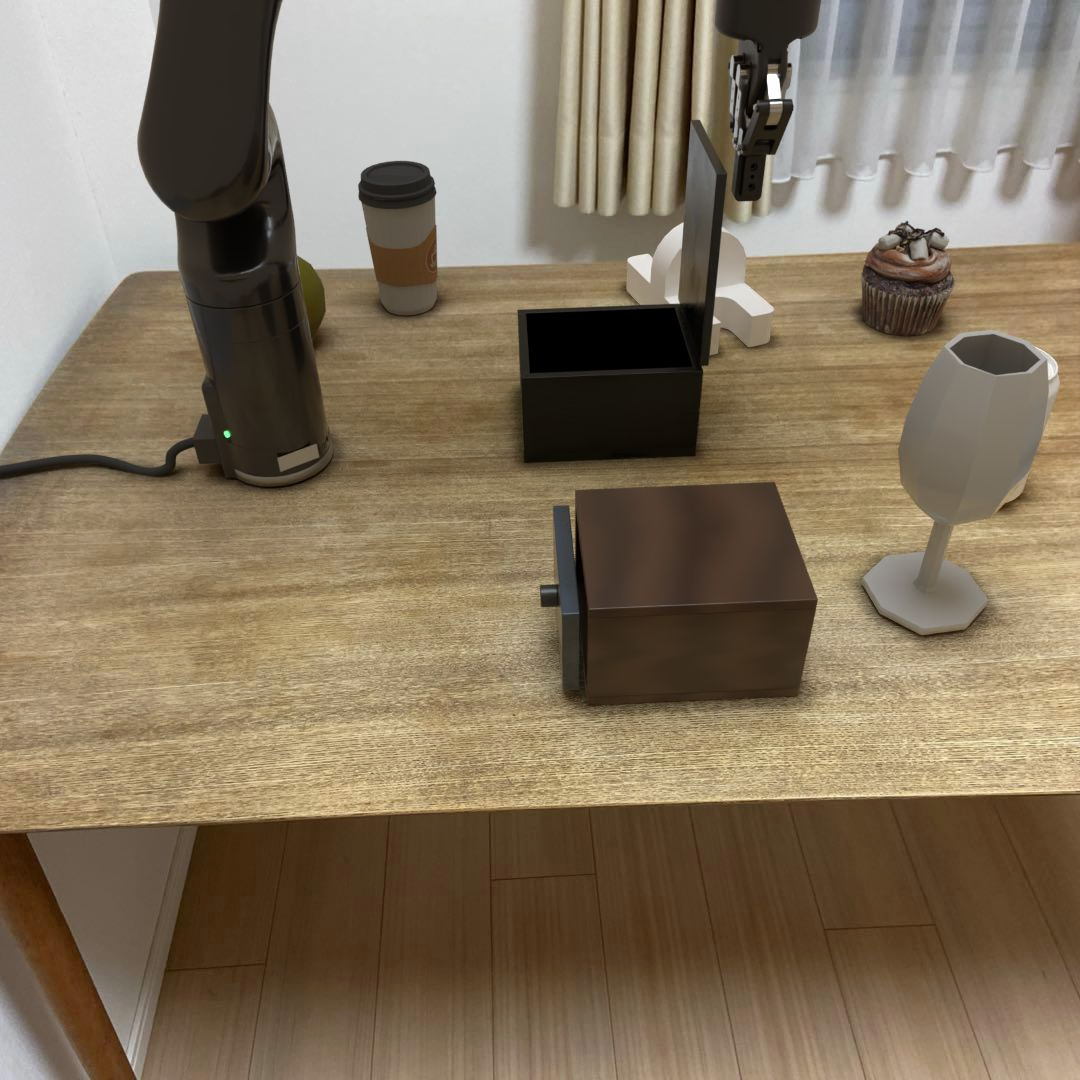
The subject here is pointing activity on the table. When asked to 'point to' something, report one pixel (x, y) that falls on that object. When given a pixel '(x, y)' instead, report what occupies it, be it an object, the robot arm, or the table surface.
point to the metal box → (608, 383)
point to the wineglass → (961, 469)
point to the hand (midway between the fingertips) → (745, 197)
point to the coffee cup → (401, 233)
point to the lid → (701, 239)
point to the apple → (312, 295)
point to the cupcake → (906, 281)
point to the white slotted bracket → (732, 298)
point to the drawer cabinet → (690, 593)
